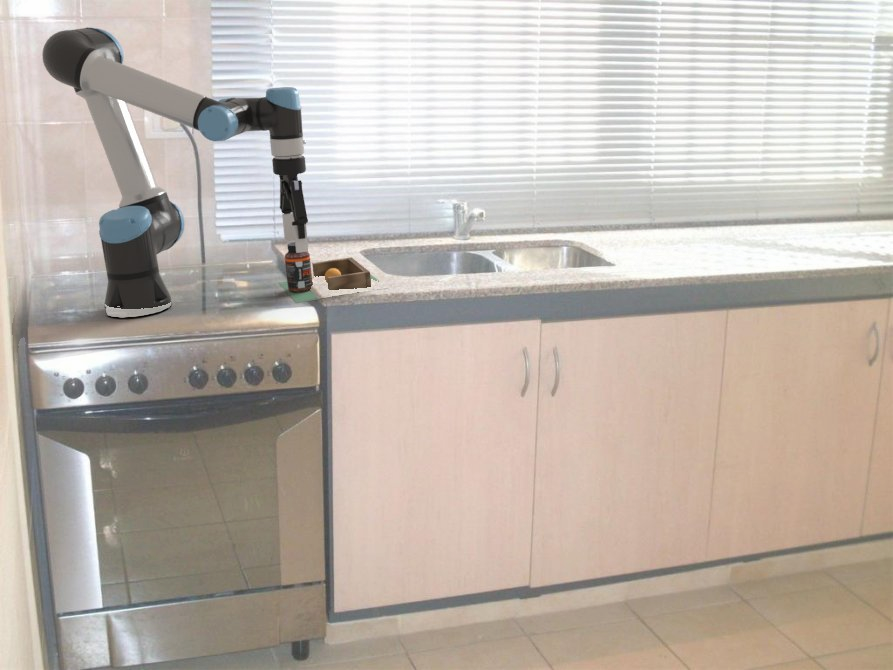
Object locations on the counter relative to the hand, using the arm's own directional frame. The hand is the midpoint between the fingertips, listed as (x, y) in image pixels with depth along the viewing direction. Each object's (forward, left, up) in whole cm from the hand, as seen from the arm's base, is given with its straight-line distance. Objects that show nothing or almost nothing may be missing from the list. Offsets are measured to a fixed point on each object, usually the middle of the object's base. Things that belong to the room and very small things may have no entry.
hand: (296, 246), depth 264 cm
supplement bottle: (0, 0, -11) cm, 11 cm away
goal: (+9, 0, -11) cm, 14 cm away
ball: (+9, 0, -7) cm, 11 cm away
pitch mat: (+7, -1, -11) cm, 13 cm away
